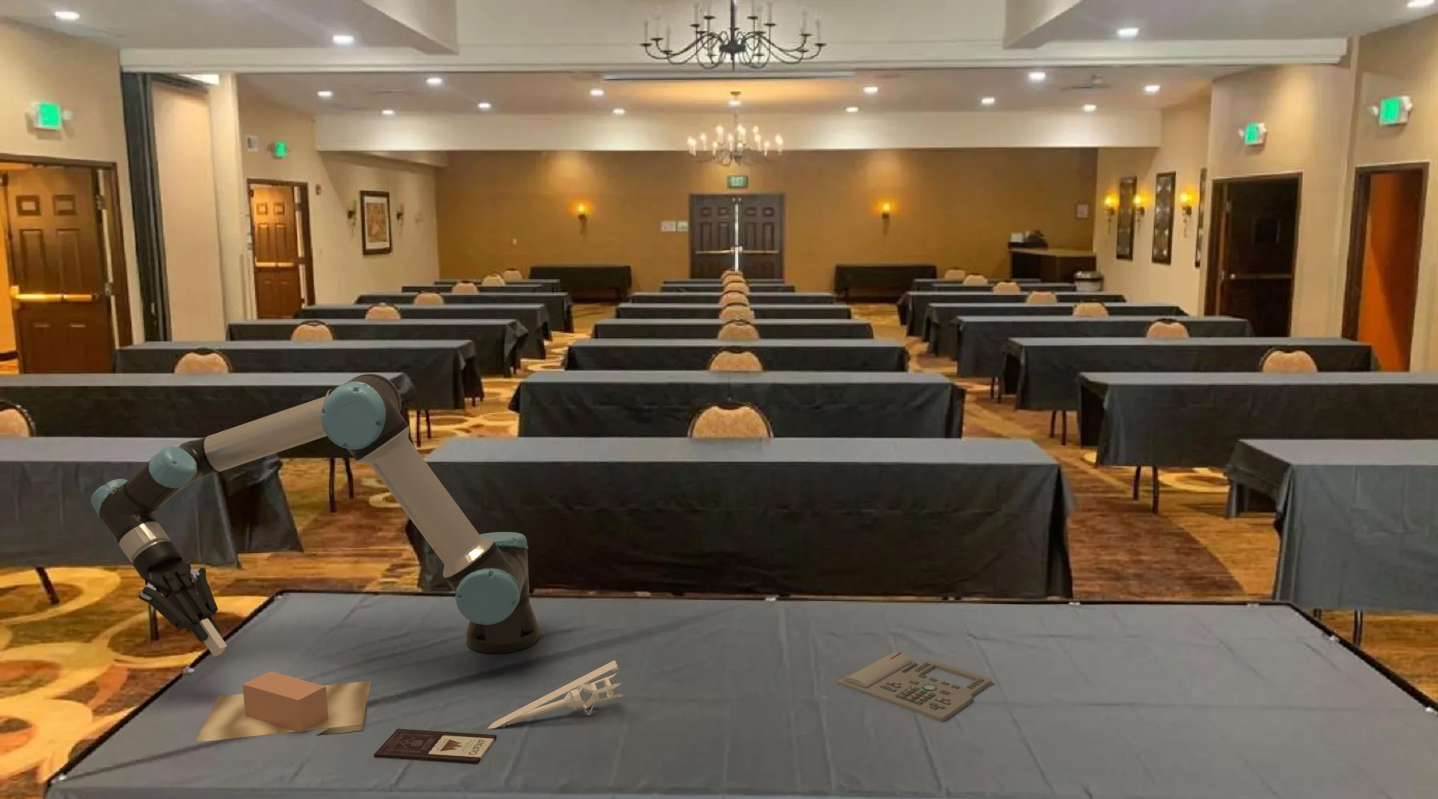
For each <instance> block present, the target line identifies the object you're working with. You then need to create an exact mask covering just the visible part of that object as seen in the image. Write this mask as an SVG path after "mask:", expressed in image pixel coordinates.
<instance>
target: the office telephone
mask: <svg viewBox="0 0 1438 799" xmlns="http://www.w3.org/2000/svg"><path fill="white" fill-rule="evenodd" d="M934 669H936V670H940V671H942V672H946V673H949V674H952V675H955V676H958V677H962V678H965V679H968V680H971V681H973V682H971V683H970V684H968V685H967V686H964V687H963V686H959V685H956V684H952V683H950V682H947V681H943V680H939V679H937V678H934V677H930V676H927V675H925V674H927V673H928V672H930V671H931V670H934ZM836 684H837V685H838V686H842V687H845V688H847V689H850V690H853V691H855V692H858V693H861V694H864V695H866V696H869V697H872V698H875V699H878V700H881V701H883V702H886V703H888V704H892V705H893V706H894V705H895V706H897V707H900V708H903V709H906V710H907V711H911V712H914V713H916V714H918V715H921V716H923V717H925V718H928V719H932V720H934V721H936V722H940V723H943V722H945V721H947V720H948V719H949V718H951V717H953V716H954V715H956V714H957V713H958V712H959V711H961V710H962V709H964V708H965V707H967V706H968V705H969V704H970V703H972V701H973V697H974V696H976V695H977V694H978V693H979V692H982V691H983V690H984V689H987V688H988V687H989V686H992V685H993V680H992V679H991V678H990V677H989V678H988V677H986V676H983V675H979V674H976V673H973V672H970V671H967V670H964V669H960V668H957V667H955V666H952V665H948V664H944V663H941V662H937V661H934V660H930V659H926V660H925V661H923V662H921V663H920V664H918V665H917V661H916V660H913V659H911V658H910V657H908V656H907V655H905V654H902V653H901V652H899V653H898V652H891V653H889V654H887V655H885V656H883V657H881V658H879V659H877V660H875V661H874V662H871V663H869V664H866V665H865V666H863V667H861V668H859V669H857V670H855V671H853V672H851V673H849V674H848V675H845V676H843V677H842V678H841V677H840V678H839V679H837V680H836Z"/></svg>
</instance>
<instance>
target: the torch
mask: <svg viewBox="0 0 1438 799" xmlns="http://www.w3.org/2000/svg"><path fill="white" fill-rule="evenodd" d="M619 668H620V667H619V665H618V663H617V661H616V660H612V661H610V662H608V663H607V664H605V665H603V666H600V667H599V668H596V669H594V670H593V671H590V672H589V673H587V674H584V675H583V676H581V677H578V678H577V679H575V680H573V681H571V682H570V683H567V684H566V685H564V686H561V687H559V688H557V689H555V690H554V691H551V692H550V693H548V694H546V695H544V696H542V697H540V698H538V699H536V700H534V701H532V702H531V703H528V704H526V705H525V706H523V707H520V708H518V709H517V710H515V711H513V712H511V713H509V714H507V715H505V716H503V717H501V718H499V719H497V720H495V721H493V722H492V723H491V724H490V725H489V726H488V727H487V728H486V729H487V730H489V729H491V730H492V729H497V728H498V727H501V726H503V725H506V726H510V725H513V724H516V723H519V722H522V721H525V720H529V719H531V718H534V717H537V716H540V715H543V714H545V713H549V712H553V711H555V710H558V709H561V708H564V707H567V708H569V709H572V710H577V709H579V708H582V709H583V710H584V712H585V713H586V714H587V716H590V714H591V713H592V710H593V708H594V705H595V704H596V703H597V704H598V703H601V702H605V701H609V700H613V699H615V698H621V697H623V696H625V695H623V694H619V693H617V694H615V695H614V690H615V689H616V688H617V687H619V686H620V685H621V684H622V682H619V683H618V682H617V683H614V684H612V683H611V681H610V680H612V679H613V677H615V676H616V675H617V671H618V670H619ZM609 671H612V672H615V673H614V674H612V675H610V676H606V677H603V678H601V679H599V680H595V681H593V682H590V681H592V680H594V679H596V678H598V677H600V676H602V675H604V674H606V673H608V672H609ZM602 682H603V685H604V686H603V687H601V688H597V686H596V684H597V685H598V684H601V683H602ZM581 692H584V693H588V694H589V693H590V694H591V696H590V697H589V699H588V700H587V701H586V700H582V697H581V694H580V693H581ZM566 693H567V694H566ZM602 693H606V696H607V697H603V698H600V696H599V695H600V694H602ZM563 694H566V695H565V697H564V698H562V699H560V700H556V701H554V702H551V701H552V700H554V699H556V698H558V697H560V696H563ZM549 702H550V703H549ZM546 703H548V704H546ZM591 705H592V707H591V709H590V711H589V713H588V711H587V710H586V709H588V708H589V707H590V706H591Z"/></svg>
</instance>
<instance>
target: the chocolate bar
mask: <svg viewBox="0 0 1438 799" xmlns="http://www.w3.org/2000/svg"><path fill="white" fill-rule="evenodd" d="M496 740H497V734H488V733H486V734H485V733H472V732H471V733H470V732H456V731H454V732H453V731H440V730H439V731H438V730H423V729H409V728H408V729H407V728H397V729H396V730H394V732H393V733H392V734H391V735H390V736H389V738H388V739H386V740H385V741H384V743H383V744H382V745H381V746H380V747H379V748H378V749H377V750H376V751H375V752H374V753H373V758H375V759H376V758H379V759H394V760H406V761H407V760H409V761H424V762H438V763H439V762H440V763H451V764H452V763H453V764H455V763H456V764H468V765H478V764H479V763H480V761H481V760H482V759H483V757H484V756H485V754H486V753H487V752H488V750H489V749H490V748H491V746H492V745H493V743H494V742H495V741H496Z"/></svg>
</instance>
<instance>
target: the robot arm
mask: <svg viewBox="0 0 1438 799" xmlns="http://www.w3.org/2000/svg"><path fill="white" fill-rule="evenodd" d="M401 408H402V398H401V394H400V392H399V389H398V388H397V386H396V385H395V384H394V383H393V381H391V380H390V379H389V378H387V377H385V376H382V375H380V374H377V373H365V374H360V375H357V376H355V377H354V378H352V379H350V380H349V381H347V382H344V383H343V384H341V385H339V386H336V387H334V388H330V389H328V390H327V392H326V394H325V396H322V397H320V398H316V399H314V400H311V401H308V402H305V403H302V404H299V405H296V406H293V407H290V408H287V409H283V410H281V411H278V412H276V413H272V414H269V415H266V416H263V417H260V418H258V419H255V420H252V421H249V422H246V423H243V424H240V425H238V426H234V427H231V428H228V429H224V430H222V431H220V432H217V433H213V434H209V435H207V436H206V437H202V438H198V439H192V440H189V441H185V442H183V443H181V444H180V445H179V446H173V445H168V446H165V447H164V448H163V449H161V450H160V451H159V452H157V453H156V454H154V455H153V456H152V457H150V459H149V460H148V462H146V463H145V464H144V466H142V467H141V468H140V469H139V470H138V471H137V472H136V473H135V474H134V475H133V476H132V477H131V478H130V479H128V480H127V479H124V478H118V479H117V478H116V479H114V480H113V479H112V480H110V481H107V482H106V483H105V484H103V485H101V486H100V487H98V488H97V489H96V490H95V491H94V492H93V494H92V496H91V497H90V498H91V500H90V502H91V505H92V507H93V508H94V510H95V512H96V514H97V516H98V518H99V520H100V521H102V523H103V524H104V525H105V527H106V528H107V529H108V531H109V532H110V533H111V535H112V536H113V538H114V539H115V541H116V543H117V544H118V546H119V547H120V549H121V550H122V551H123V553H124V554H125V556H126V557H127V559H128V560H129V561H130V562H131V563H132V566H133V568H134V569H135V570H136V573H138V575H139V576H140V578H141V579H142V580H144V585H145V586H144V587H143V589H142V590H141V592H140V593H139V595H138V598H139V599H140V600H141V601H143V602H146V603H147V604H149V605H150V606H152V607H153V609H154V610H156V611H157V612H158V613H159V614H160V615H161V616H162V617H164V618H165V620H167V622H169V623H170V624H171V625H172V626H173V627H174V628H175V629H177V630H178V631H182V630H184V629H186V630H185V631H186V632H188V633H190V632H192V633H193V636H195V637H196V639H197V640H198V642H200V643H204V645H205V646H206V647H207V649H208V650H209V652H210V653H211V654H212V655H213V657H214V658H215V657H218V656H220V655H222V653H223V652H224V651H225V650H226V648H227V647H228V645H227V643H226V642H225V641H224V639H223V638H222V636H221V635H220V633H221V629H220V627H219V625H218V624H217V623H216V622H215V620H214V619H213V618H214V616H215V615H216V613H217V612H218V610H219V608H218V605H217V603H216V600H215V597H214V595H213V592H212V590H211V587H210V585H209V583H208V579H207V570H206V568H205V567H200V568H199V569H193V568H191V567H190V565H189V564H187V563H185V562H184V560H183V557H182V555H181V553H180V552H179V550H178V549H177V547H176V546H175V545H174V543H173V542H171V541H170V537H169V536H168V535H167V533H166V531H165V530H164V528H162V526H161V525H160V523H159V522H158V521H157V519H156V518H155V516H154V514H155V512H156V511H158V510H159V509H160V508H161V507H162V506H164V504H166V502H168V501H169V500H170V499H171V498H172V497H173V496H175V495H176V494H177V493H179V492H180V491H181V490H183V489H186V488H187V487H188V486H190V485H191V484H193V483H195V482H196V481H198V480H201V479H203V478H206V477H210V476H212V475H214V474H218V473H220V472H223V471H226V470H229V469H232V468H235V467H238V466H241V465H243V464H247V463H251V462H252V461H256V460H259V459H262V458H265V457H268V456H271V455H274V454H276V453H280V452H282V451H285V450H288V449H289V450H290V449H291V448H294V447H297V446H300V445H304V444H307V443H310V442H312V441H315V440H319V439H321V438H324V437H328V439H329V440H330V441H332V443H334V444H335V445H337V446H339V447H340V448H343V449H347V451H348V452H349V454H351V456H352V458H354V460H355V461H356V463H358V464H359V463H360V464H365V465H368V466H370V468H372V470H373V471H374V473H375V474H376V476H378V478H379V479H380V481H381V482H382V483H383V485H384V486H385V487H386V488H387V490H388V491H389V492H390V494H391V495H392V496H393V498H394V499H395V500H396V502H397V503H398V504H399V505H400V507H401V509H403V511H404V513H405V514H406V515H407V517H409V520H411V522H412V523H413V525H415V527H416V529H417V530H418V531H419V532H420V534H421V535H422V537H423V538H424V539H425V541H426V542H427V543H428V545H429V546H430V547H431V549H432V550H433V551H434V553H435V554H436V555H437V556H438V558H439V559H440V561H441V562H442V563H443V566H444V567H443V573H442V576H443V578H444V580H445V581H446V582H447V583H448V585H449V586H450V587H451V589H452V590H453V591H454V593H455V595H454V596H455V597H454V598H455V602H456V607H457V609H458V611H459V612H460V614H461V615H462V616H463V617H464V618H465V619H467V620H468V621H469V622H468V625H467V627H466V633H465V635H466V636H465V637H466V644H467V647H468V648H469V649H471V650H473V651H475V652H479V653H483V654H484V653H485V654H507V653H512V652H514V653H515V652H517V651H521V649H522V650H525V649H527V648H529V647H531V646H533V645H534V644H536V643H537V642H538V641H537V640H539V639H540V626H539V623H538V620H537V617H536V615H535V612H534V610H533V608H532V605H531V603H530V602H531V601H530V600H531V599H530V585H529V584H530V583H529V582H530V581H529V560H528V559H529V558H528V550H529V546H528V541H527V537H526V536H525V535H524V534H523V533H519V532H514V531H513V532H512V531H496V532H495V531H494V532H487V533H481V534H479V531H477V529H476V528H475V526H473V524H472V523H471V521H470V520H469V519H468V518H467V516H466V515H465V513H464V512H463V510H462V509H461V508H460V506H459V505H458V503H456V501H455V499H454V498H453V497H452V496H451V495H450V492H448V490H447V489H446V488H445V486H444V485H443V484H442V482H441V481H440V478H438V477H437V475H436V474H435V473H434V472H433V470H432V469H431V467H430V466H429V465H428V462H426V460H425V459H424V458H423V457H422V455H421V454H420V452H419V451H418V450H417V448H416V447H415V446H414V444H413V443H412V442H411V440H410V438H409V433H410V425H409V424H408V422H407V421H406V420H405V418H404V417H403V415H402V414H401ZM193 583H194V584H193ZM194 588H195V589H194ZM538 638H539V639H538ZM536 641H537V642H536ZM535 642H536V643H535ZM532 644H533V645H532ZM530 645H531V646H530ZM524 648H525V649H524Z"/></svg>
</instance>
